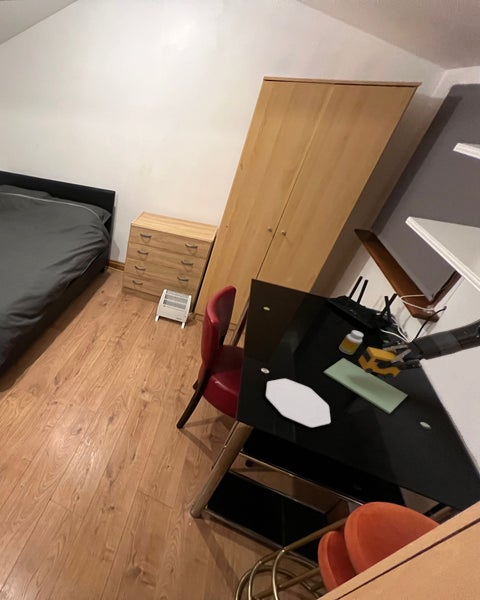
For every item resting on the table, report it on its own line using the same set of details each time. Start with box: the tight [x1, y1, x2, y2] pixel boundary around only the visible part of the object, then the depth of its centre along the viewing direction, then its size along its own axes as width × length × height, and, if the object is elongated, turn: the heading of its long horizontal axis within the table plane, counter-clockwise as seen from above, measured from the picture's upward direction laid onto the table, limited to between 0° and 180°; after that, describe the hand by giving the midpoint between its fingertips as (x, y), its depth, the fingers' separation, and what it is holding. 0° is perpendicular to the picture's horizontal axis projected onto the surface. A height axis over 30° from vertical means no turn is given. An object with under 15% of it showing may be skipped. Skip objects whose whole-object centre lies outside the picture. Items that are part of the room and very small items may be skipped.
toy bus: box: [358, 346, 405, 379], centre depth 117 cm, size 10×5×8 cm, turn 72°
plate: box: [265, 378, 332, 429], centre depth 112 cm, size 20×20×2 cm
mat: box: [323, 357, 408, 415], centre depth 123 cm, size 22×16×1 cm
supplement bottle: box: [338, 329, 364, 355], centre depth 137 cm, size 5×5×10 cm
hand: (375, 361), depth 117 cm, fingers closed on toy bus, 5 cm apart
